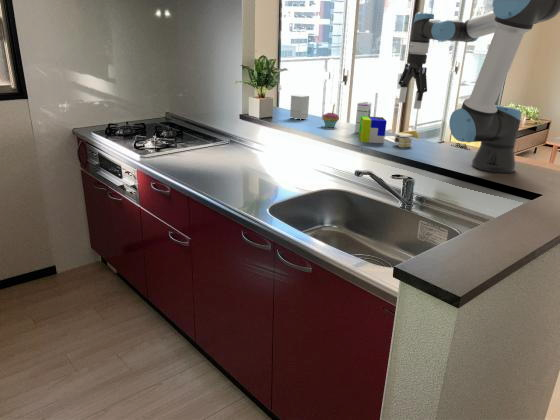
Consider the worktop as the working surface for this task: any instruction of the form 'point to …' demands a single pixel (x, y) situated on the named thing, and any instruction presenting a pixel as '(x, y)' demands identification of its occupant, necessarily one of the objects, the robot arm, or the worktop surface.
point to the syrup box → (362, 113)
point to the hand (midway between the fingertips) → (409, 105)
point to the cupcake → (330, 118)
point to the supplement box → (299, 106)
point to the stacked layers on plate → (403, 140)
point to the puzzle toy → (372, 129)
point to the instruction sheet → (390, 138)
